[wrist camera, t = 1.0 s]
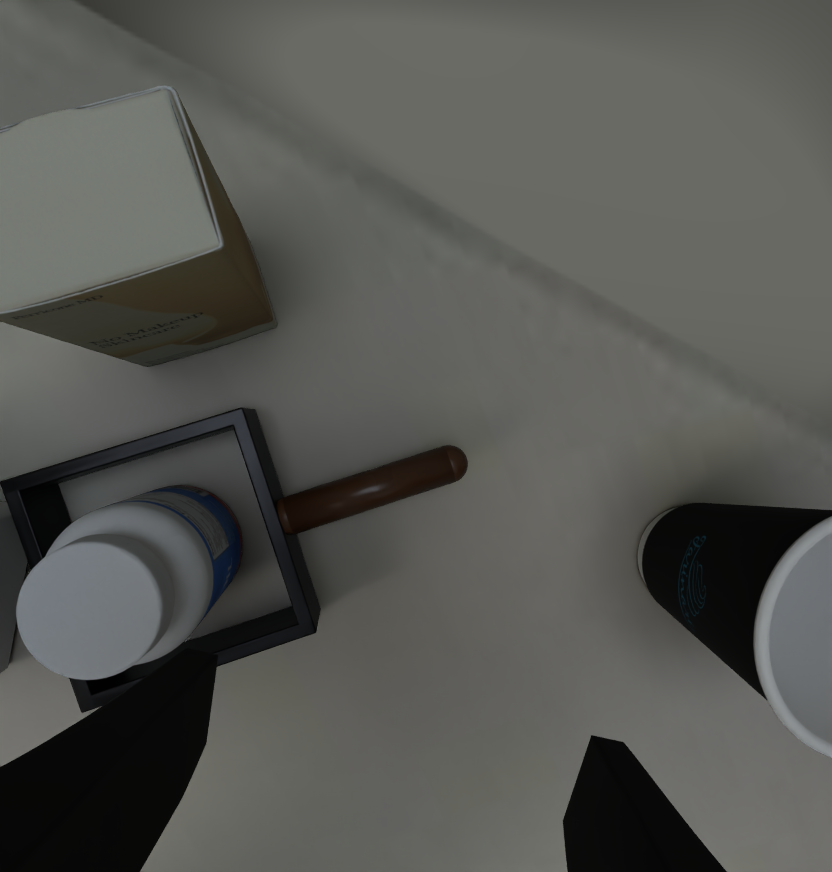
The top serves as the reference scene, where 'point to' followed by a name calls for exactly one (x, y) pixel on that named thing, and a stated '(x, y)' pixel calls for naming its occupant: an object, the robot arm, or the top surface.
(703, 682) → the top surface
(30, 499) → the pan
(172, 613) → the pill bottle
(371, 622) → the top surface
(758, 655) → the dixie cup
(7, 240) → the cosmetic box
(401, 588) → the top surface
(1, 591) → the milk carton
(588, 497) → the top surface
